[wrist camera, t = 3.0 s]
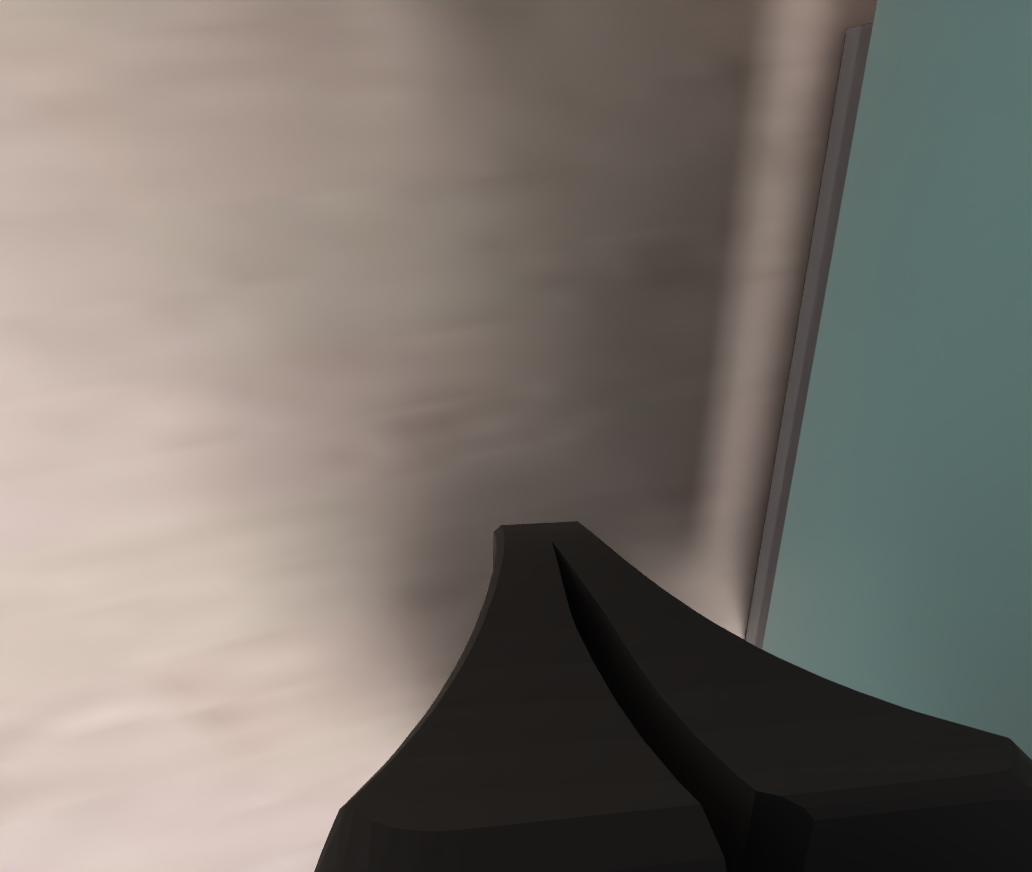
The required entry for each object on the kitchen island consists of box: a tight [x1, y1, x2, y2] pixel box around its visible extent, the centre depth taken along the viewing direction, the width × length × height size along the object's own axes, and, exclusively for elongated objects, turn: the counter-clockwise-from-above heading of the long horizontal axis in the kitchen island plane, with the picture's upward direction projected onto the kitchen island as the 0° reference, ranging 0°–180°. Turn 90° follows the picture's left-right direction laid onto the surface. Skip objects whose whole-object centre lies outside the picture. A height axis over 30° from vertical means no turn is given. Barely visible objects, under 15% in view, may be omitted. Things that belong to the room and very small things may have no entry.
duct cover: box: [762, 0, 1032, 760], centre depth 12 cm, size 18×11×1 cm
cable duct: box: [745, 23, 873, 649], centre depth 20 cm, size 18×10×4 cm, turn 179°
